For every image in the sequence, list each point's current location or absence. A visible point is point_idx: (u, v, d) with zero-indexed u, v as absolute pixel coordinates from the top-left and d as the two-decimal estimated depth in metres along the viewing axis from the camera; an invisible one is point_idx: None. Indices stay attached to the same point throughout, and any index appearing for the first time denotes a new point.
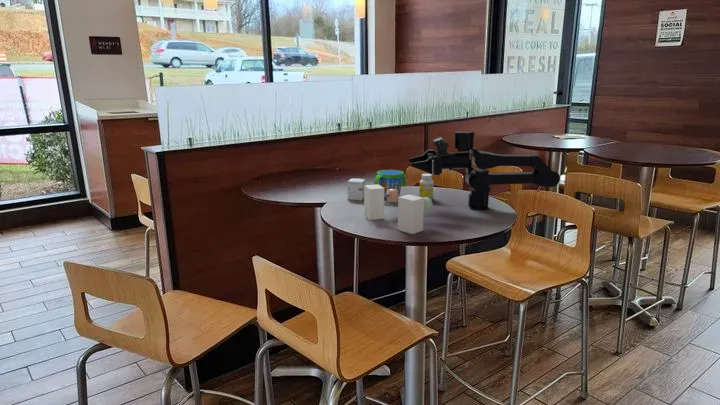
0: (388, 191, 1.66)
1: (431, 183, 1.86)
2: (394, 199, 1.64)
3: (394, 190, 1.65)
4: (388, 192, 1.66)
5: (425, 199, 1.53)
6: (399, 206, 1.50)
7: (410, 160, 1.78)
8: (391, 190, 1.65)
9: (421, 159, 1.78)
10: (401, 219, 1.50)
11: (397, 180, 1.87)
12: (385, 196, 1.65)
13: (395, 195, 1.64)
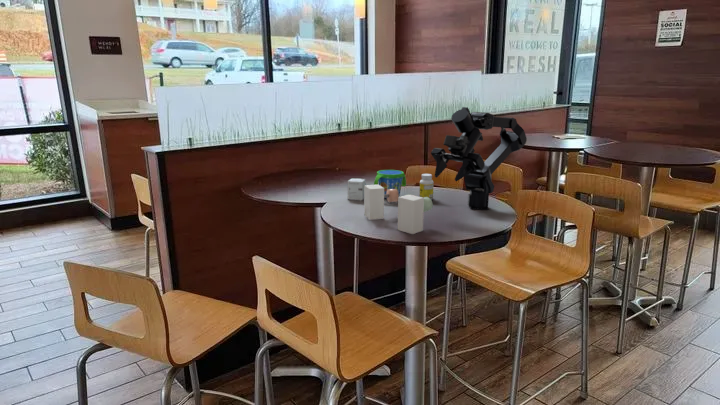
0: (388, 191, 1.66)
1: (431, 183, 1.86)
2: (394, 199, 1.64)
3: (394, 190, 1.65)
4: (388, 192, 1.66)
5: (425, 199, 1.53)
6: (399, 206, 1.50)
7: (436, 175, 1.63)
8: (391, 190, 1.65)
9: (441, 165, 1.65)
10: (401, 219, 1.50)
11: (397, 180, 1.87)
12: (385, 196, 1.65)
13: (395, 195, 1.64)
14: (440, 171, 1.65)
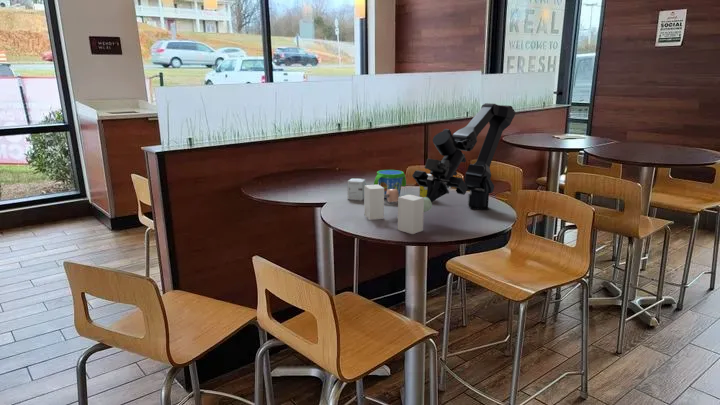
0: (388, 191, 1.66)
1: None
2: (394, 199, 1.64)
3: (394, 190, 1.65)
4: (388, 192, 1.66)
5: (424, 199, 1.53)
6: (399, 206, 1.50)
7: None
8: (391, 190, 1.65)
9: None
10: (401, 219, 1.50)
11: (397, 180, 1.87)
12: (385, 196, 1.65)
13: (395, 195, 1.64)
14: None
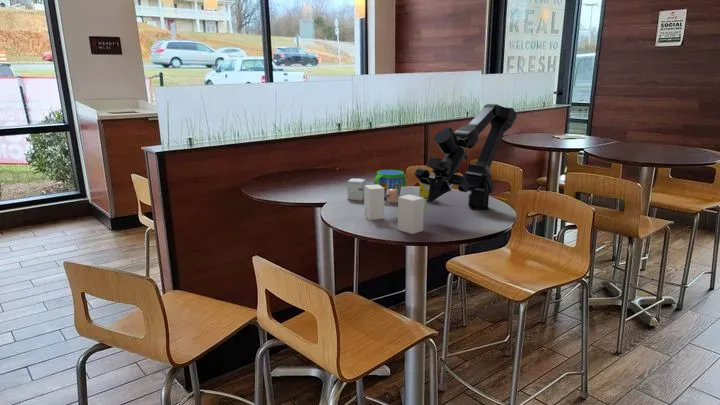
0: (388, 191, 1.66)
1: None
2: (394, 199, 1.64)
3: (394, 190, 1.65)
4: (388, 192, 1.66)
5: None
6: (399, 206, 1.50)
7: None
8: (391, 190, 1.65)
9: (434, 188, 1.58)
10: (401, 219, 1.50)
11: (397, 180, 1.87)
12: (385, 196, 1.65)
13: (395, 195, 1.64)
14: None
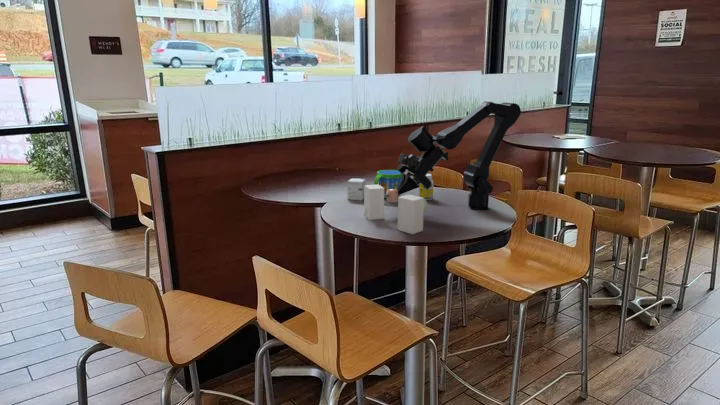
0: (388, 191, 1.65)
1: None
2: (394, 199, 1.64)
3: (394, 190, 1.65)
4: (388, 192, 1.66)
5: None
6: (399, 206, 1.50)
7: (398, 193, 1.67)
8: (391, 190, 1.65)
9: None
10: (401, 219, 1.50)
11: (397, 180, 1.87)
12: (385, 196, 1.65)
13: (395, 195, 1.64)
14: None
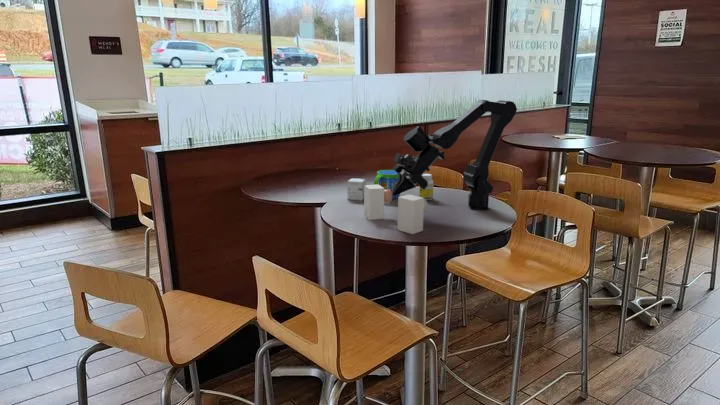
0: None
1: (431, 183, 1.86)
2: (387, 199, 1.64)
3: (387, 190, 1.64)
4: None
5: None
6: (399, 206, 1.50)
7: None
8: (384, 190, 1.64)
9: None
10: (401, 219, 1.50)
11: (397, 180, 1.87)
12: None
13: (388, 196, 1.63)
14: None
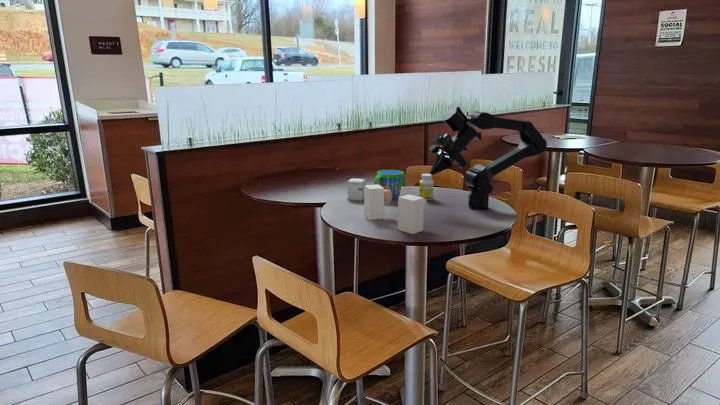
0: None
1: (431, 183, 1.86)
2: (387, 199, 1.64)
3: (387, 190, 1.64)
4: None
5: None
6: (399, 206, 1.50)
7: None
8: (384, 190, 1.64)
9: None
10: (401, 219, 1.50)
11: (397, 180, 1.87)
12: None
13: (388, 196, 1.63)
14: None
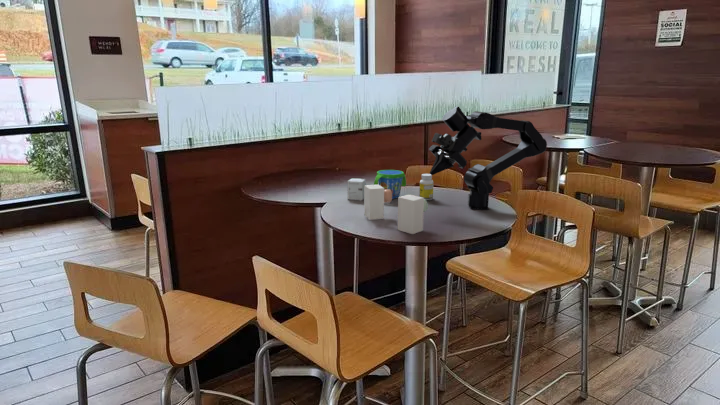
0: None
1: (431, 183, 1.86)
2: (387, 199, 1.64)
3: (387, 190, 1.64)
4: None
5: None
6: (399, 206, 1.50)
7: None
8: (384, 190, 1.64)
9: None
10: (401, 219, 1.50)
11: (397, 180, 1.87)
12: None
13: (388, 196, 1.63)
14: None
